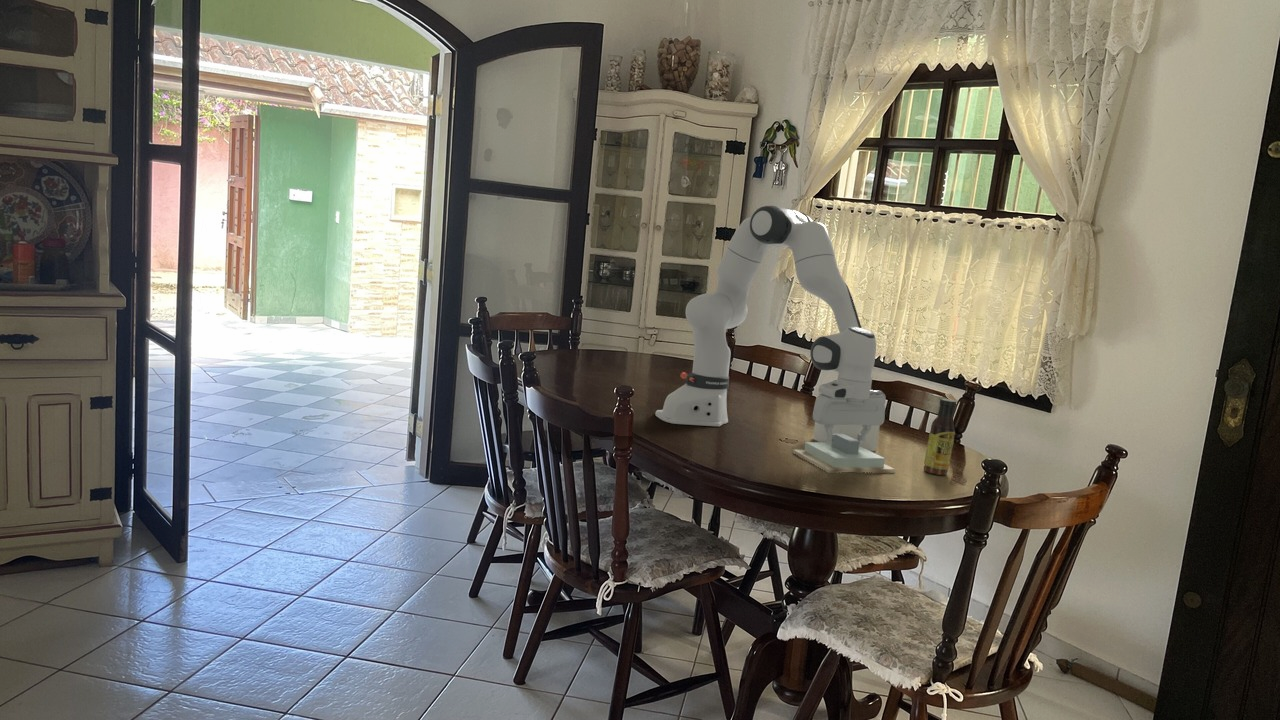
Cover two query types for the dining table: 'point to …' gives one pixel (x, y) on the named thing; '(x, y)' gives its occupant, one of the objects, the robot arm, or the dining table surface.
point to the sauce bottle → (941, 439)
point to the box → (849, 434)
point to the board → (836, 470)
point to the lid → (844, 453)
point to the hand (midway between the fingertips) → (845, 440)
